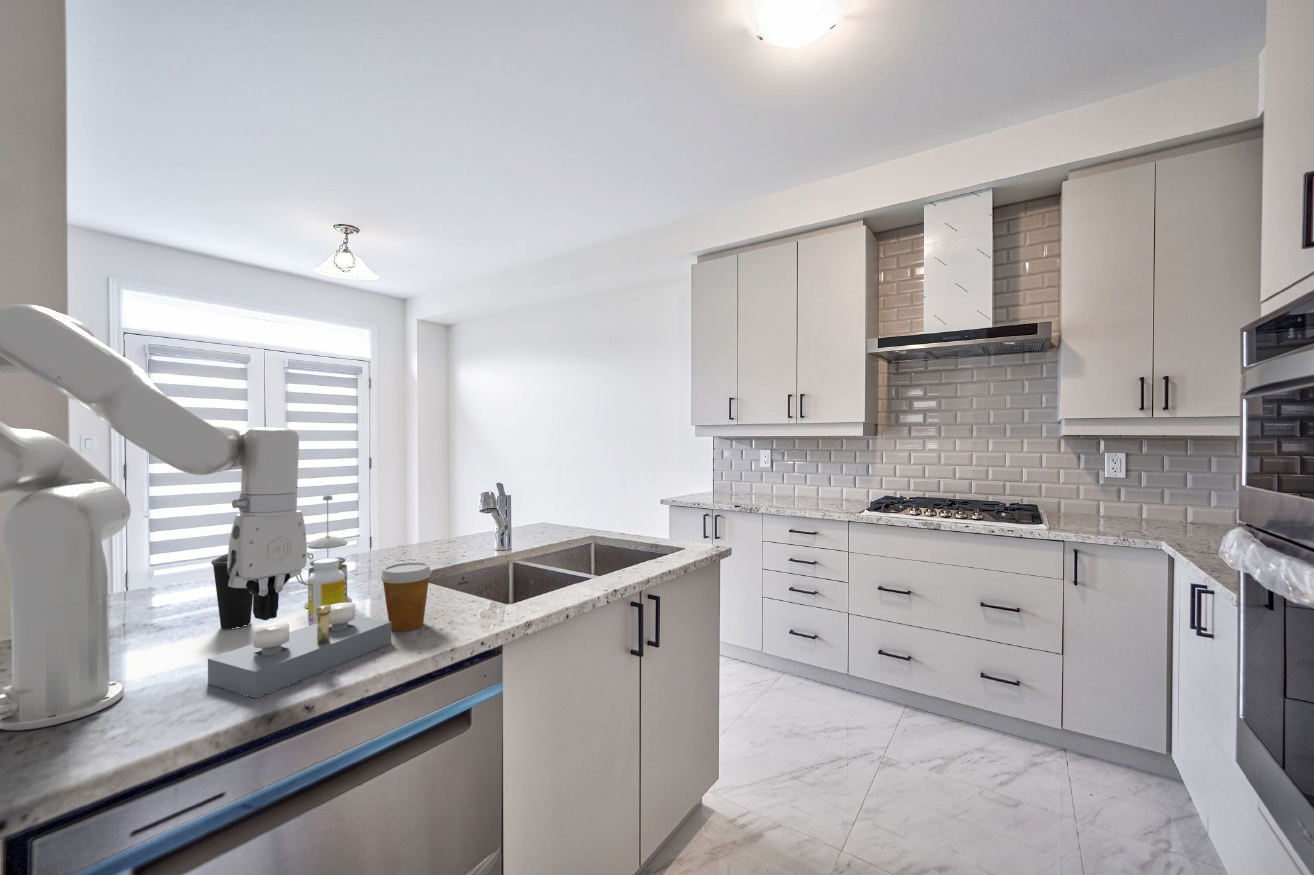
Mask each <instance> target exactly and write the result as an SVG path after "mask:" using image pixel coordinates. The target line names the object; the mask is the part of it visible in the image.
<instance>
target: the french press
mask: <svg viewBox="0 0 1314 875" xmlns="http://www.w3.org/2000/svg"><path fill="white" fill-rule="evenodd" d="M322 500H323V501H326V506H327V507H326V516H327V517H326V518H327V519H326V522H327V523H326V526H327V527H326V530H327V531H326V532H327V533H326V534H327V535H326V536H325V537H320V538H318V539H315V540H312V541H311V542H310V543H308V544H307V549H311V550H323V549H327V550H326V551H327V556H326V557H325V558H323V559H326V558H329V549H335V548H340V547H344V546H347V544H348V542H349V541H348V540H346V539H343V538H341V537H338V536H330V535H329V501H333V496H332V495H331V494H326V495H324V496H323V497H322ZM310 556H311V557H310ZM336 558H337V559H339V567H338V570H340V571H342V572H343V573H344V575H345V603H349V602H350V603H353V602H352V601H353V598H351V597H350V596H349V595H348V565H347V564H344V563H345V562H346V558H344V557H336ZM307 559H309V560H313V559H314V554H313V553H309V552H307ZM320 559H321V558H319V559H314V560H313V561H310V562H309V565H311V566H312V567H310V568H308V574H307V575H308V576H307V577H308V578H309V576H310V575H311V574H313V573H314V571H315V569H314V568H313V562H314V561H316V560H320ZM298 576H299V577H298ZM295 577H296V578H295V579H297V582H298V583H300V584H301V585H304V586H307V587H308V583H306V581H305V582H304V579H303V578H302V573H301V574H299V575H297V576H295ZM308 578H307V579H308ZM303 606H305V608H304V609H306V608H308V600H307V601H306V602H305V603H304V605H303Z"/></svg>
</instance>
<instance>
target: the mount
mask: <svg viewBox="0 0 1314 875" xmlns="http://www.w3.org/2000/svg"><path fill="white" fill-rule="evenodd" d="M387 644H388V645H390V644H392V630H391V622H390V621H389V620H383V619H378V618H373V617H368V616H363V615H358V614H355V619H353V620H352V621H349V622H348V629H345V630H342V631H339V632H334V631H332V624H330V641H329V642H328V643H325V644H317V623H316V624H313V625H310V624H309V625H307V626H305V627H304V626H303V627H300V628H298V629H295V630H291V631H289V641H288V642H286V643H284V644H282V645H281V652H280V653H277V654H274V655H271V656H268V657H265V656H262V648H255V647H254V646H253V643H252V644H248V645H246V646H243V647H240V648H236V649H234V650H231V651H227V652H223V653H221V654H219V655H214V656H212V657H209V658H207V685H209V684H210V685H209V686H212V687H216V686H217V688H219V689H222V688H224V689H223V690H226V691H229V690H231V691H230V692H232V691H233V693H235V692H237V693H236V694H238V693H241V694H240V695H242V694H245V695H248V696H253V697H254V698H253V699H255V698H257V697H259V696H262V697H264V696H265V695H264V694H267V695H269V694H270V693H269V692H271V693H273V692H272V691H274V690H276V691H278V690H277V689H279V688H281V689H283V688H282V687H283V686H286V687H288V686H289V685H288V684H291V685H293V684H294V683H293V682H296V683H298V682H300V681H299V680H301V681H302V679H303V680H305V679H308V678H311V677H312V676H315V675H317V674H320V673H322V672H325V671H328V670H329V669H332V668H334V667H337V666H339V665H341V663H342V664H344V663H346V662H349V661H352V660H354V659H356V658H359V657H361V656H364V655H366V654H368V652H369V653H371V652H373V651H375V650H378V649H380V648H383V647H385V645H386V646H388V645H387ZM382 646H383V647H382ZM297 681H298V682H297ZM292 683H293V684H292ZM287 685H288V686H287ZM279 690H280V689H279ZM274 692H275V691H274ZM268 693H269V694H268ZM245 695H244V696H245ZM263 695H264V696H263ZM248 696H247V697H248ZM259 698H260V697H259ZM257 699H258V698H257Z"/></svg>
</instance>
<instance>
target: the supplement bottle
mask: <svg viewBox="0 0 1314 875" xmlns="http://www.w3.org/2000/svg"><path fill="white" fill-rule="evenodd" d="M337 558H338V557H328V558H327V557H325V559H324V558H319V559H320V560H318V559H315V560H316V561H314V560H313V561H314V562H313V566H312V567H313V568H314V569H315V571H314V573H313V574H312V573H311V574H310V576H309V578H307V584H308V586H307V598H308V599H307V601H308V609H307V611H308V612H307V616H308V617H307V619H308V625H309V626H310V625H313V624H316V623H317V615H316V607H317V606H321V605H332V604H337V603H345V575H344V573H343V572H342V571H340V570H338V567H339V559H337Z"/></svg>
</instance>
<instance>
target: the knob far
mask: <svg viewBox="0 0 1314 875" xmlns="http://www.w3.org/2000/svg"><path fill="white" fill-rule="evenodd" d="M355 615H356V607H355V603H353V602H350V603H337V604H332V605H331V612H330V613H329V623H330V624H332V631H334V632H339V631H342V630H345V629H348V622H349V621H352V620H353V619H355Z"/></svg>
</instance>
